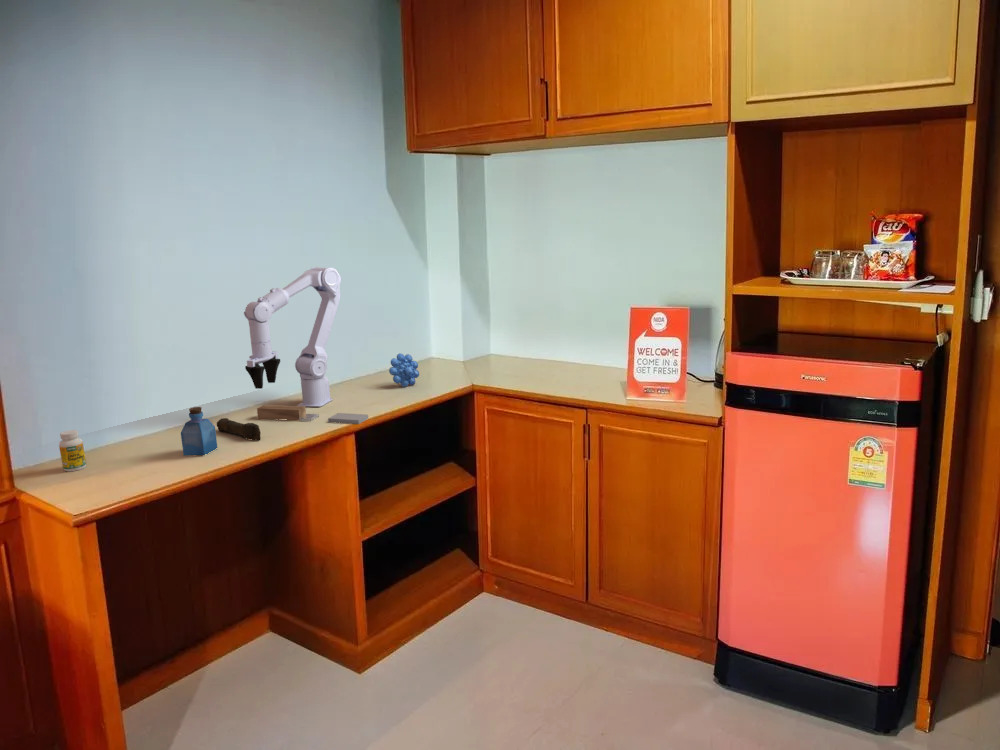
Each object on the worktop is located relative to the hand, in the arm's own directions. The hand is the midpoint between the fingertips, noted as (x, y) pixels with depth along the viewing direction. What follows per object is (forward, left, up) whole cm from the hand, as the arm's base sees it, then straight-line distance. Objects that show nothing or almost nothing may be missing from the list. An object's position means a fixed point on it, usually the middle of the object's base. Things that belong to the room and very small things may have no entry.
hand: (265, 385), depth 251 cm
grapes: (-39, +30, -10) cm, 51 cm away
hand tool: (+20, +4, -10) cm, 23 cm away
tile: (+2, +23, -9) cm, 25 cm away
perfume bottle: (+37, +1, -10) cm, 38 cm away
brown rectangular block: (+3, +8, -9) cm, 13 cm away
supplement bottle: (+54, -24, -10) cm, 59 cm away
